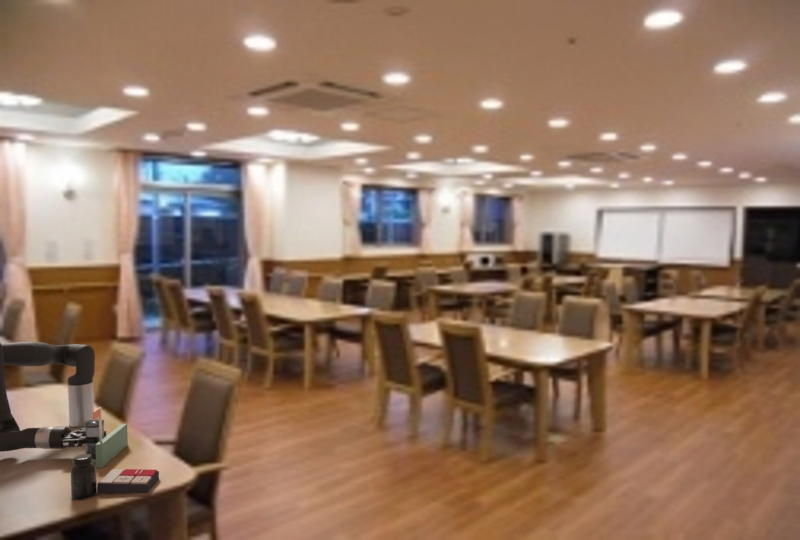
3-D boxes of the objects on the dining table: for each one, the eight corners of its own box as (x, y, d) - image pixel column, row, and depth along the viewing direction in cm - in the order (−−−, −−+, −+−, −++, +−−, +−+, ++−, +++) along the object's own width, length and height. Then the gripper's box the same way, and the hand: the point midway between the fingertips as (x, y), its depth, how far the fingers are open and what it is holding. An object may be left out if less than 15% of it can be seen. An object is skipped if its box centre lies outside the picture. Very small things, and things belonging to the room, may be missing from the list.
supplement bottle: (90, 488, 189) (89, 450, 188) (100, 494, 184) (99, 455, 184) (67, 496, 183) (66, 457, 183) (77, 502, 179) (75, 462, 178)
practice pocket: (94, 445, 227) (93, 392, 226) (127, 444, 228) (126, 392, 226) (61, 471, 202) (59, 412, 201) (98, 471, 203) (96, 411, 201)
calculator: (147, 482, 185) (96, 481, 184) (147, 496, 186) (96, 495, 185) (159, 468, 196) (111, 467, 195) (159, 481, 197) (111, 480, 196)
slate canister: (90, 452, 219) (89, 419, 218) (107, 452, 219) (107, 419, 219) (82, 458, 213) (81, 424, 212) (100, 458, 213) (99, 424, 213)
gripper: (41, 433, 208) (92, 433, 209) (62, 421, 222) (110, 420, 223) (42, 455, 208) (93, 454, 209) (63, 441, 222) (110, 440, 223)
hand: (101, 437), depth 216 cm, fingers closed on slate canister, 6 cm apart
